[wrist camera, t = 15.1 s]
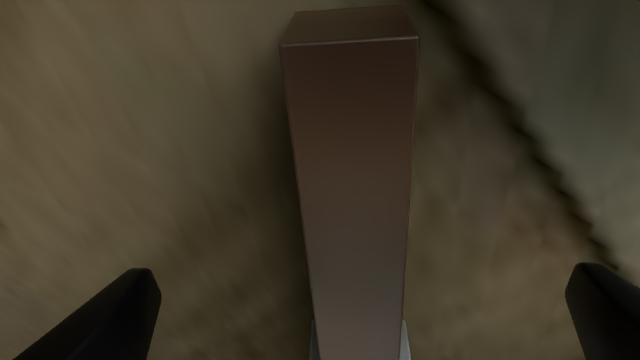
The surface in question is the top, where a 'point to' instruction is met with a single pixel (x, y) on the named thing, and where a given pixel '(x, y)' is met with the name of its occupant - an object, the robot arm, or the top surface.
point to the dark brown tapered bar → (353, 171)
